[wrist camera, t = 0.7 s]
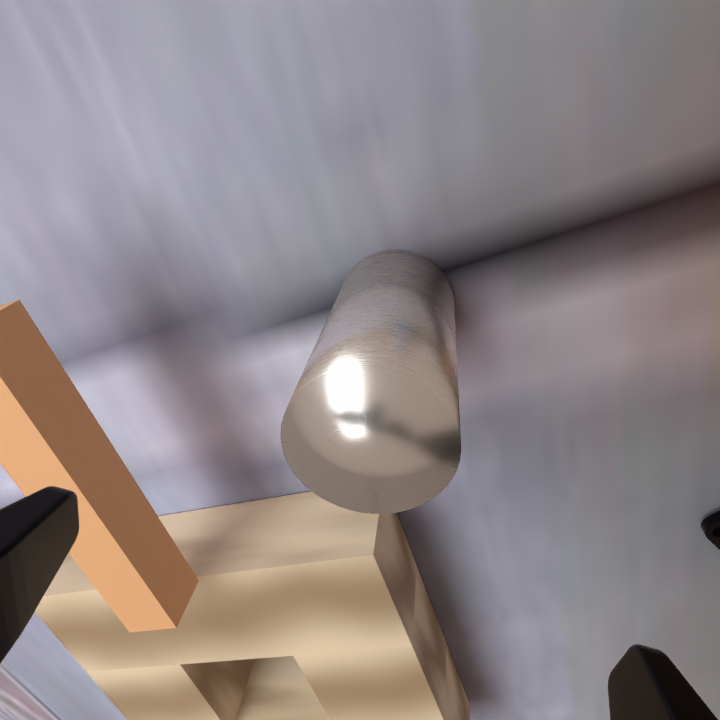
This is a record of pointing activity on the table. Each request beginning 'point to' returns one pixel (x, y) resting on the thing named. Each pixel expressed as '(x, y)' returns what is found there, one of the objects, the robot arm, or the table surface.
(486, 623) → the table surface
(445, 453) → the cylinder
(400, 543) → the dock
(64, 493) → the robot arm
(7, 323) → the pin
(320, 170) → the table surface
